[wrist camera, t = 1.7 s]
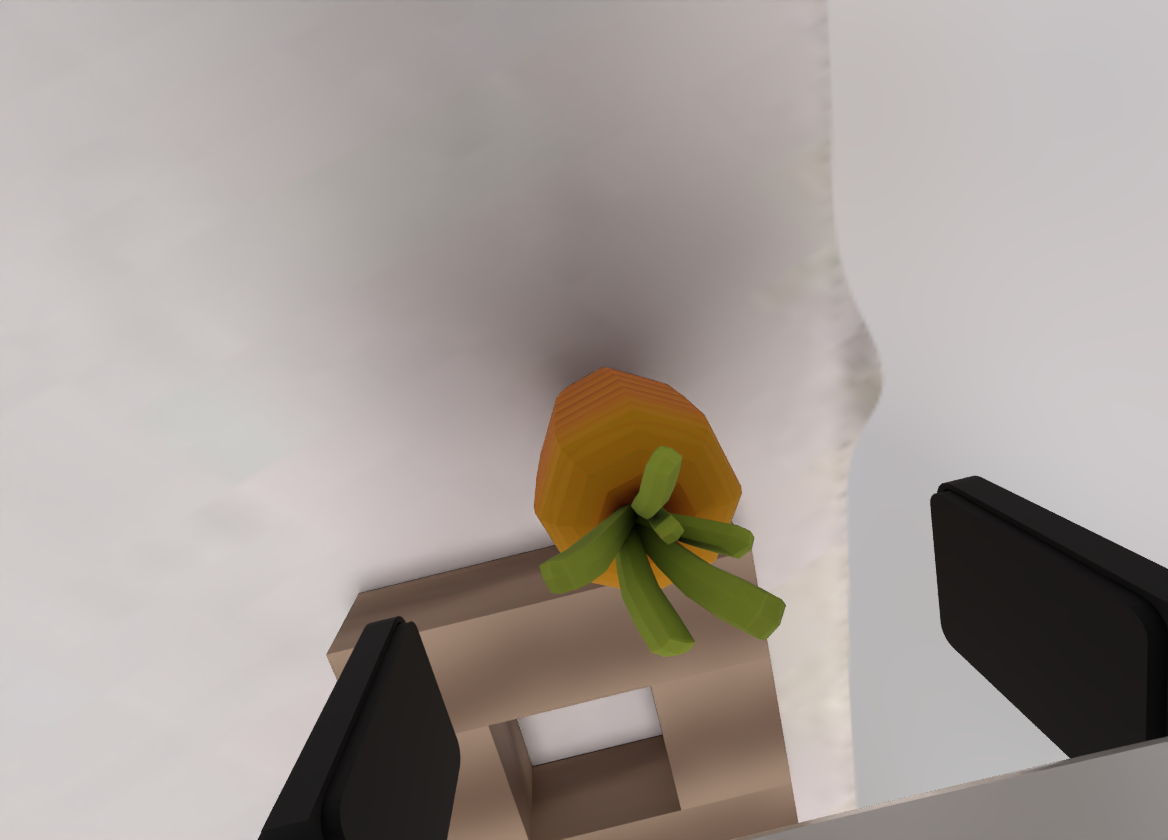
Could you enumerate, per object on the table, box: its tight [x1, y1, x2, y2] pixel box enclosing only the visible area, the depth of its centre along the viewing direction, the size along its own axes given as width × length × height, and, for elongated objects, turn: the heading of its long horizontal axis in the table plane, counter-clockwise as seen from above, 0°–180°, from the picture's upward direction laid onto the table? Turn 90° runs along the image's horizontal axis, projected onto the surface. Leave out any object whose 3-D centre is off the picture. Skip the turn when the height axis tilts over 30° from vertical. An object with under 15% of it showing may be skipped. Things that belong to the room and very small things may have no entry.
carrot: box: [534, 367, 786, 657], centre depth 17 cm, size 5×5×15 cm
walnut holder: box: [326, 521, 798, 840], centre depth 26 cm, size 16×16×4 cm
